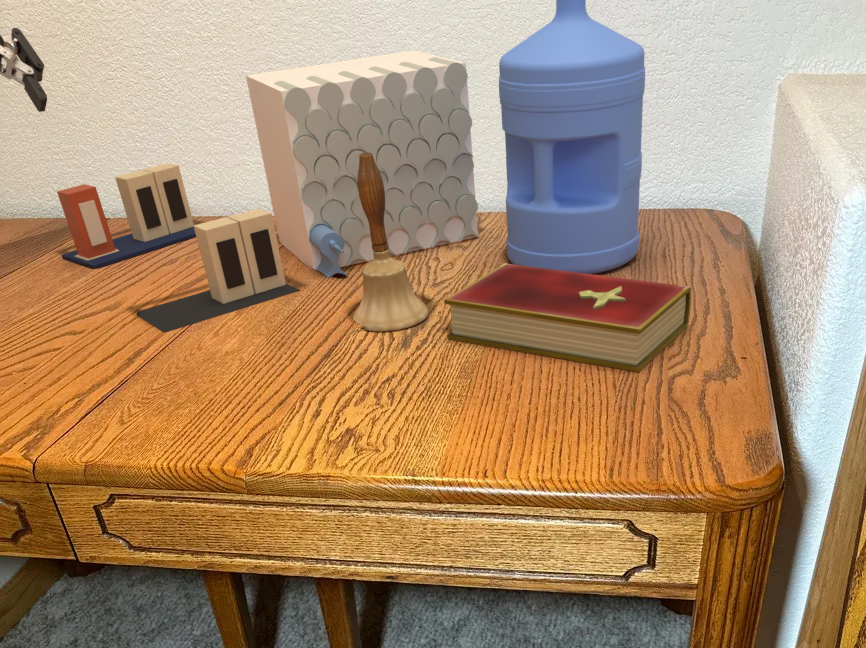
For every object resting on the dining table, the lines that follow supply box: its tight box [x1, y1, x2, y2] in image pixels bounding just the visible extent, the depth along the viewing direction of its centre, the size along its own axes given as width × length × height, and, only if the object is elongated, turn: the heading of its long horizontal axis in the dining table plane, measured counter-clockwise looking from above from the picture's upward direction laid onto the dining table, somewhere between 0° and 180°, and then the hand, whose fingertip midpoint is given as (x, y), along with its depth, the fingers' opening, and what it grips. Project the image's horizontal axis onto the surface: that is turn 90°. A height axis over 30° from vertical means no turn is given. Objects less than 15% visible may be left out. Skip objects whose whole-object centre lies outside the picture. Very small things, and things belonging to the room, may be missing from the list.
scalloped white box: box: [245, 49, 480, 279], centre depth 111 cm, size 22×24×20 cm
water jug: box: [498, 0, 646, 275], centre depth 100 cm, size 16×16×28 cm
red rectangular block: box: [56, 183, 116, 259], centre depth 120 cm, size 4×3×8 cm
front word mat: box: [136, 208, 301, 334], centre depth 102 cm, size 17×9×8 cm, turn 128°
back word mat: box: [61, 162, 197, 270], centre depth 124 cm, size 18×9×8 cm, turn 137°
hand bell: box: [352, 153, 430, 333], centre depth 93 cm, size 8×8×16 cm
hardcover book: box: [443, 262, 692, 373], centre depth 90 cm, size 12×21×4 cm, turn 58°
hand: (12, 112), depth 118 cm, fingers open, 8 cm apart
